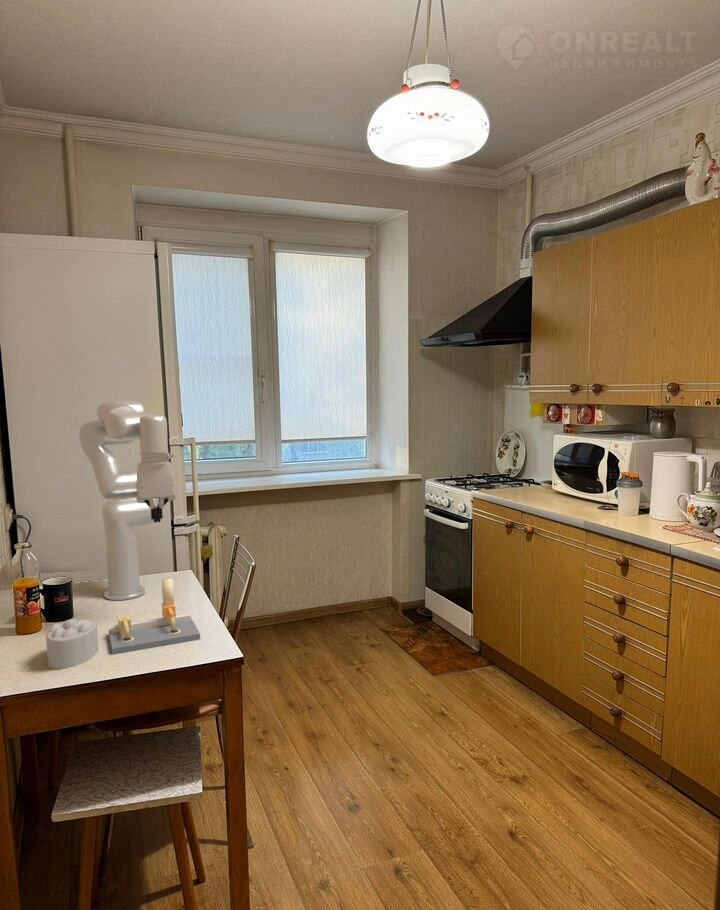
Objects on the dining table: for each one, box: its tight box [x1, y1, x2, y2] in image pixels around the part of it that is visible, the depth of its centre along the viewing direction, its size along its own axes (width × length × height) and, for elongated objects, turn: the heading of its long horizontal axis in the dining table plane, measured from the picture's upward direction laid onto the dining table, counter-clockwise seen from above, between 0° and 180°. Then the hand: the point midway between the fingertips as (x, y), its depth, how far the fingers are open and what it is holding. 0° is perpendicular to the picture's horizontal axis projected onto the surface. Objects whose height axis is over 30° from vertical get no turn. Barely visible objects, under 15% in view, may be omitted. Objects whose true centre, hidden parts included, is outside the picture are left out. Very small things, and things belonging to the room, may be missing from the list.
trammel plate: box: [108, 613, 201, 655], centre depth 170 cm, size 14×22×5 cm, turn 115°
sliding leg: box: [161, 577, 177, 631], centre depth 173 cm, size 10×3×12 cm, turn 25°
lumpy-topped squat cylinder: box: [45, 618, 99, 670], centre depth 157 cm, size 10×13×9 cm
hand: (157, 521), depth 181 cm, fingers closed
